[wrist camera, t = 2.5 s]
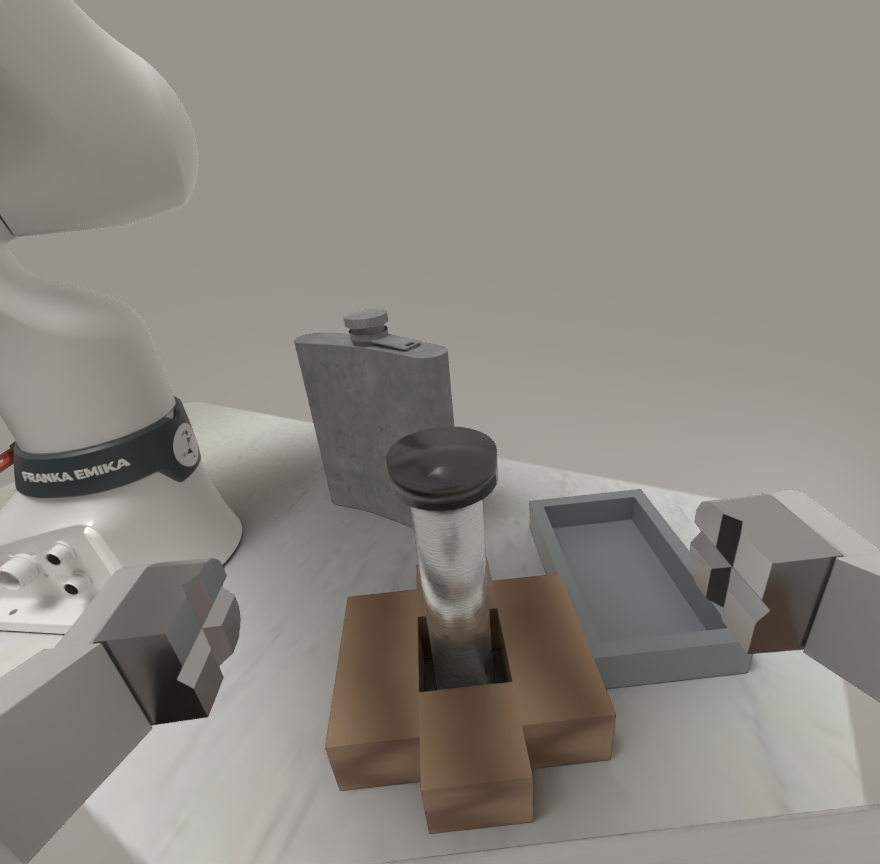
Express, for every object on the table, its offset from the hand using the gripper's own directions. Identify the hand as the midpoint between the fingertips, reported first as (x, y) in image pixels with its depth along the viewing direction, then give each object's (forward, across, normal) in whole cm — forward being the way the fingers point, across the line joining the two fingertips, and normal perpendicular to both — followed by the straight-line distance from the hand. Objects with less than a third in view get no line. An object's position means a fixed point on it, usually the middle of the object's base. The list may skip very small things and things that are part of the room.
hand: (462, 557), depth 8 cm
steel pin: (+13, 0, +23) cm, 26 cm away
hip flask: (+33, +5, +23) cm, 41 cm away
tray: (+20, -12, +23) cm, 33 cm away
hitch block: (+13, 0, +23) cm, 26 cm away
